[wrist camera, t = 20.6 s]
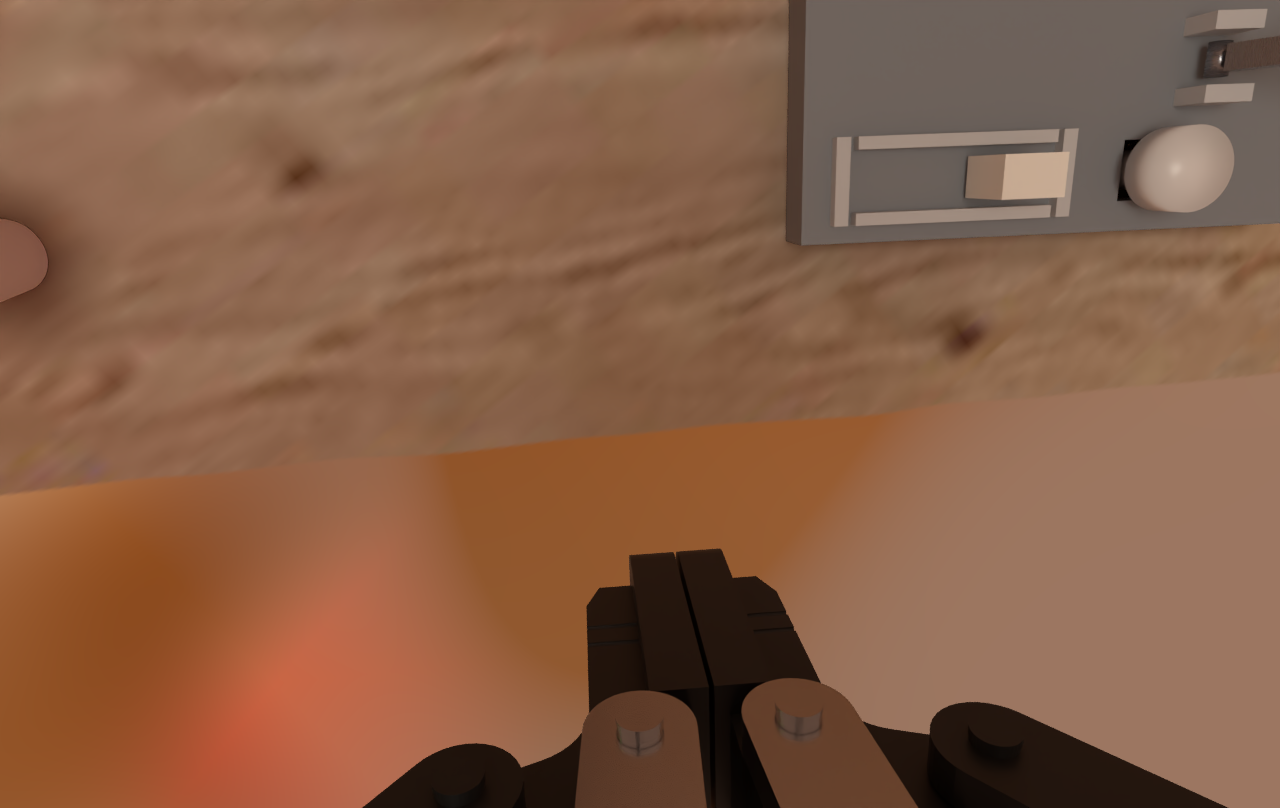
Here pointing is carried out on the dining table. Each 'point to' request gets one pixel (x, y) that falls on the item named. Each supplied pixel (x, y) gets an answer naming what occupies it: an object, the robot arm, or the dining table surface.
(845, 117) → the panel
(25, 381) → the dining table surface
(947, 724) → the robot arm
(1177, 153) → the push button
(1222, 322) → the dining table surface
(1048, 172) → the slider knob
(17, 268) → the smoothie
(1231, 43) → the toggle lever
